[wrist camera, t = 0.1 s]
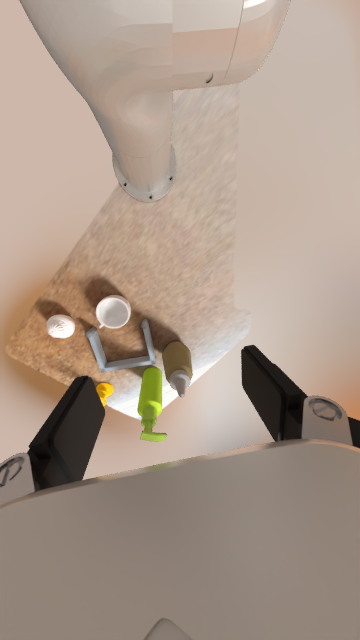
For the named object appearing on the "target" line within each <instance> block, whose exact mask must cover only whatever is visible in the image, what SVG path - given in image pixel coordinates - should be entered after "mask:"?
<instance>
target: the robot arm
mask: <svg viewBox="0 0 360 640" xmlns="http://www.w3.org/2000/svg"><path fill="white" fill-rule="evenodd" d="M20 2H21V4H22V6H23V8H24V10H25V12H26V14H27V16H28V18H29V19H30V21H31V23H32V25H33V26H34V28H35V30H36V32H37V33H38V35H39V37H40V38H41V40H42V42H43V44H44V45H45V47H46V49H47V50H48V52H49V53H50V55H51V56H52V58H53V59H54V61H55V62H56V64H57V65H58V66H59V68H60V69H61V71H62V72H63V73H64V75H65V76H66V77H67V79H68V80H69V81H70V82H71V84H72V85H73V86H74V87H75V89H76V90H77V91H78V92H79V93H80V94H81V96H82V97H83V98H84V99H85V100H86V102H87V103H88V105H89V107H90V108H91V110H92V112H93V114H94V116H95V118H96V119H97V121H98V123H99V125H100V127H101V129H102V131H103V133H104V136H105V138H106V139H107V141H108V143H109V146H110V147H111V150H112V152H113V167H114V171H115V174H116V177H117V179H118V181H119V183H120V185H121V186H122V187H123V189H124V190H125V191H126V192H127V193H128V194H129V195H130V196H131V197H133V198H135V199H136V200H139V201H142V202H154V201H158V200H160V199H161V198H163V197H164V196H165V195H166V194H167V193H168V192H169V191H170V189H171V187H172V185H173V183H174V180H175V176H176V166H177V164H176V156H175V152H174V149H173V146H172V144H171V136H172V124H173V110H174V99H173V90H184V89H194V88H205V87H215V86H223V85H230V84H235V83H239V82H242V81H244V80H246V79H248V78H249V77H251V76H252V75H253V74H254V73H256V72H257V71H258V69H259V68H260V67H261V66H262V65H263V63H264V62H265V60H266V59H267V57H268V55H269V53H270V52H271V50H272V48H273V46H274V44H275V41H276V39H277V37H278V35H279V32H280V30H281V27H282V25H283V22H284V20H285V17H286V14H287V11H288V8H289V5H290V2H291V0H20ZM170 178H171V179H172V180H170ZM125 184H127V185H126V186H124V185H125ZM150 196H151V197H152V199H150ZM241 359H242V386H243V388H244V390H245V392H246V394H247V395H248V397H249V399H250V400H251V402H252V404H253V405H254V407H255V409H256V410H257V412H258V414H259V416H260V417H261V419H262V421H263V422H264V424H265V426H266V427H267V429H268V430H269V432H270V434H271V436H272V437H273V439H274V440H275V442H271V443H266V444H260V445H255V446H249V447H244V448H238V449H233V450H228V451H223V452H218V453H213V454H208V455H203V456H198V457H193V458H188V459H183V460H178V461H173V462H168V463H164V464H158V465H153V466H149V467H144V468H139V469H134V470H130V471H125V472H120V473H115V474H110V475H105V476H101V477H96V478H91V479H86V480H82V479H83V476H84V473H85V471H86V468H87V465H88V462H89V459H90V456H91V453H92V451H93V448H94V445H95V442H96V439H97V436H98V434H99V431H100V428H101V425H102V422H103V419H104V416H105V409H104V406H103V404H102V402H101V399H100V397H99V395H98V392H97V390H96V388H95V385H94V383H93V381H92V379H91V378H90V377H88V376H81V377H77V378H75V379H74V381H73V382H72V384H71V385H70V387H69V388H68V390H67V391H66V393H65V394H64V395H63V397H62V398H61V400H60V401H59V403H58V404H57V406H56V407H55V409H54V410H53V411H52V413H51V415H50V416H49V417H48V419H47V420H46V422H45V423H44V424H43V426H42V427H41V429H40V430H39V432H38V433H37V435H36V436H35V438H34V439H33V441H32V442H31V443H30V445H29V448H30V449H29V451H28V452H27V453H18V454H16V455H13V456H12V457H10V458H8V459H6V460H5V461H4V462H2V463H1V464H0V640H360V421H359V420H356V419H353V418H350V417H348V416H347V414H346V411H345V410H344V409H343V408H342V407H341V406H340V405H339V404H338V403H336V402H334V401H333V400H331V399H328V398H326V397H322V396H309V397H308V396H307V395H306V394H305V393H304V392H303V391H302V390H301V389H300V388H299V387H298V386H297V385H296V384H295V383H294V382H293V381H292V380H291V379H290V378H289V377H288V376H287V375H286V374H285V373H284V372H283V371H282V370H281V369H280V368H279V367H278V366H276V365H275V364H273V363H272V362H271V361H269V359H268V358H266V356H265V355H263V353H262V352H261V351H260V350H259V349H258V348H257V347H256V346H254V345H250V346H245V347H244V349H242V350H241Z"/></svg>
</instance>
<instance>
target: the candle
mask: <svg viewBox="0 0 360 640" xmlns="http://www.w3.org/2000/svg"><path fill="white" fill-rule="evenodd" d="M96 390H97V392H98V395H99V397H100V399H101V402H102V404H103V406H105V405H106V403H107V402H106V400H105V398H107V397H108V396H109V395H111V394H112V393H113V390H114V388H113V386H112V385H111V384H109V383H106V382H103V383H100V384H98V385H97V387H96Z"/></svg>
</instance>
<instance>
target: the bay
mask: <svg viewBox="0 0 360 640" xmlns="http://www.w3.org/2000/svg"><path fill="white" fill-rule="evenodd" d="M148 322H149V321H148V319H147V318H144V319H143V321H142V325H141V327H142V328H143V331H144V335H145V339H146V344H147V348H148V352H149V355H148V356H142V357H136V358H130V359H124V360H118V361H112V362H107V359H106V356H105V353H104V350H103V347H102V345H101V342H100V339H99V336H98V333H97V328H96V327H91V328H90V329H89V330H88V331H87V333H86V337H88V338H89V340H90V343H91V346H92V348H93V351H94V354H95V357H96V359H97V362H98V365H99V367H100V370H101V373H102V372H108V371H114V370H120V369H126V368H132V367H138V366H144V365H150V364H155V363H156V356H155V352H154V347H153V342H152V338H151V333H150V329H149V324H148Z"/></svg>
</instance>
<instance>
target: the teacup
mask: <svg viewBox="0 0 360 640" xmlns="http://www.w3.org/2000/svg"><path fill="white" fill-rule="evenodd" d="M130 315H131V307H130V304H129V302H128V301H127V300H126V299H125V298H123V297H122V296H119V295H111V296H108V297H105V298H104V299H102V300H101V301H100V302H99V303H98V305H97V308H96V316H97V319H98V321H99V322H100V323H101V324H100V326H99V328H101V327H102V326H106V327H108V328H119V327H121V326H123V325H125V324H126V323H127V321H128V320H129V318H130Z"/></svg>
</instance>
